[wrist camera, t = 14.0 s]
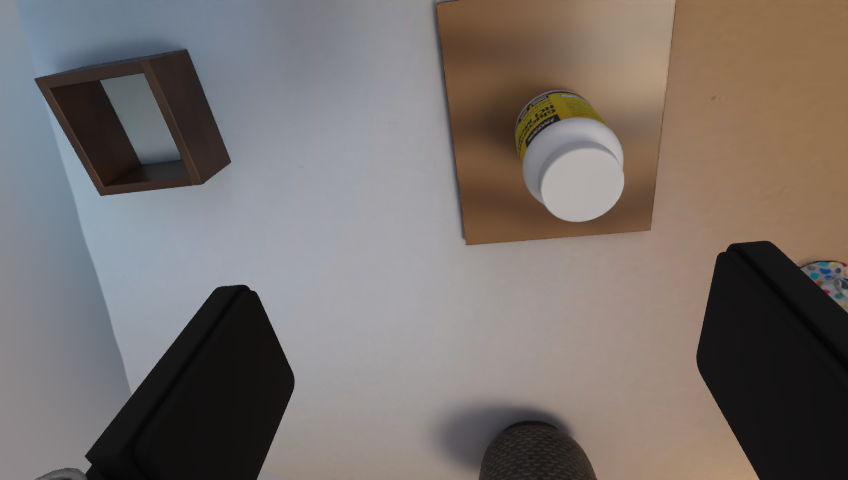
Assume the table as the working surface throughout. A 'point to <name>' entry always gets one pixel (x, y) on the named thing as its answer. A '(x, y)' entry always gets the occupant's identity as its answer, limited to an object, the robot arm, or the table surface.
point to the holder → (106, 139)
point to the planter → (535, 455)
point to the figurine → (830, 279)
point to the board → (542, 72)
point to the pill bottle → (569, 156)
